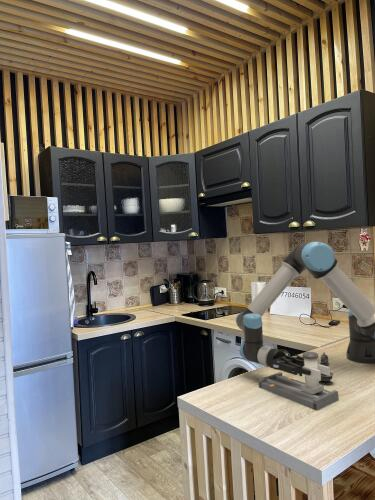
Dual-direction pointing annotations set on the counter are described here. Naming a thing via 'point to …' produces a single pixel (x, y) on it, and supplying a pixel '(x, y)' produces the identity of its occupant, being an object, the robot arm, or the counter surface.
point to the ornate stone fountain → (324, 378)
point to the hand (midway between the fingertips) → (324, 373)
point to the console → (297, 391)
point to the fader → (310, 382)
